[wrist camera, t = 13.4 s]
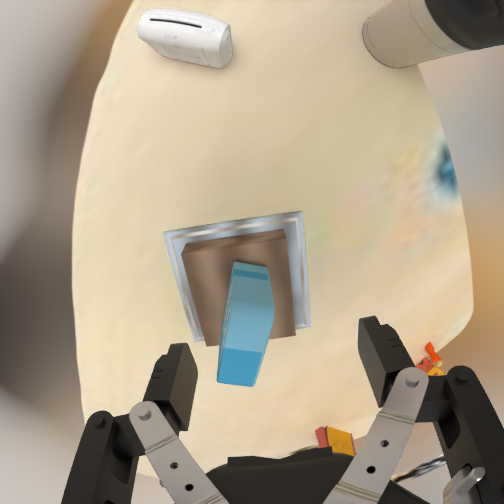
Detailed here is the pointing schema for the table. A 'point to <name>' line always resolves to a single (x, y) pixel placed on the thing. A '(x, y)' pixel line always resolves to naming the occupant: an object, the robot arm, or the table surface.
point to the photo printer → (187, 36)
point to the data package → (245, 325)
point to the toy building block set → (344, 440)
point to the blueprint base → (244, 251)
